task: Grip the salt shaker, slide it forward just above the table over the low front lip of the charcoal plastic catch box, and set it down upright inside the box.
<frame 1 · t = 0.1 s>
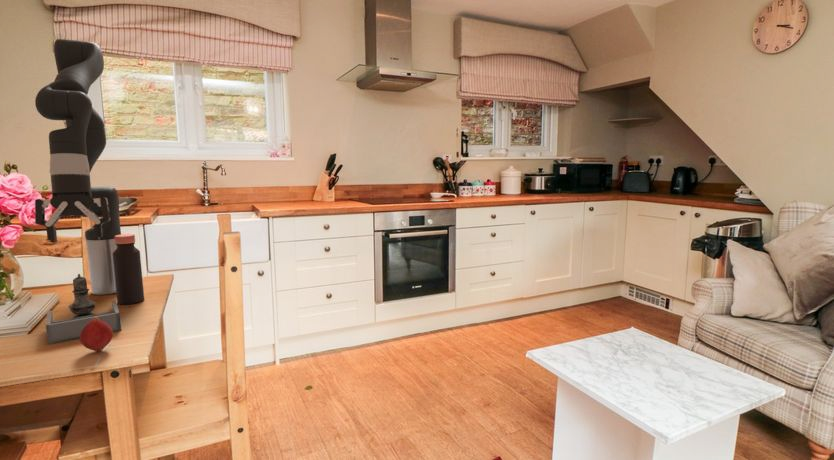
hand: (76, 241, 108), 22 cm above the table, tool pointing down, fingers open, 8 cm apart
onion: (98, 352, 98), on the table
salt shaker: (83, 317, 119), on the table
bottle: (131, 302, 132), on the table
catch box: (85, 329, 111), on the table
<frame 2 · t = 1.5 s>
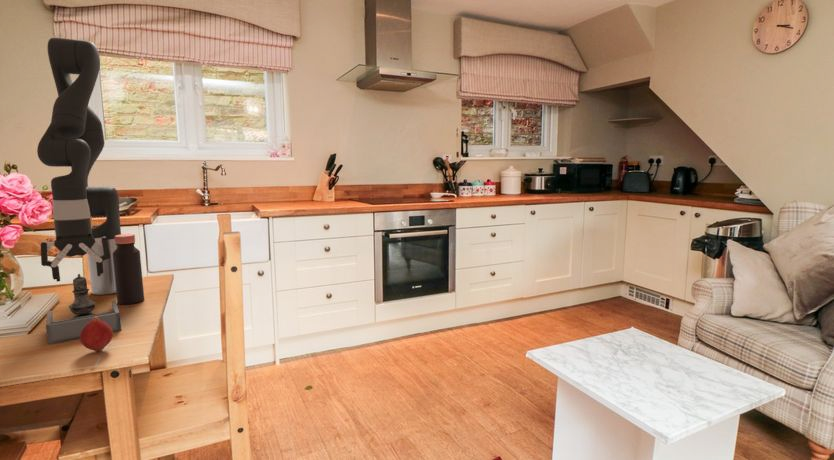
hand: (79, 278, 117), 11 cm above the table, tool pointing down, fingers open, 8 cm apart
nothing on the table moved.
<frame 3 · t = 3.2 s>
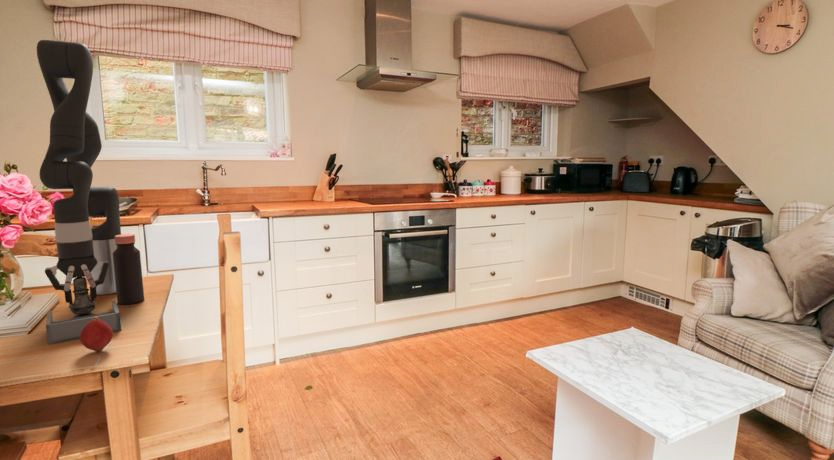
hand: (81, 301, 118), 4 cm above the table, tool pointing down, fingers closed on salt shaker, 4 cm apart
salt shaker: (84, 317, 119), on the table, touching gripper
everything else where it was.
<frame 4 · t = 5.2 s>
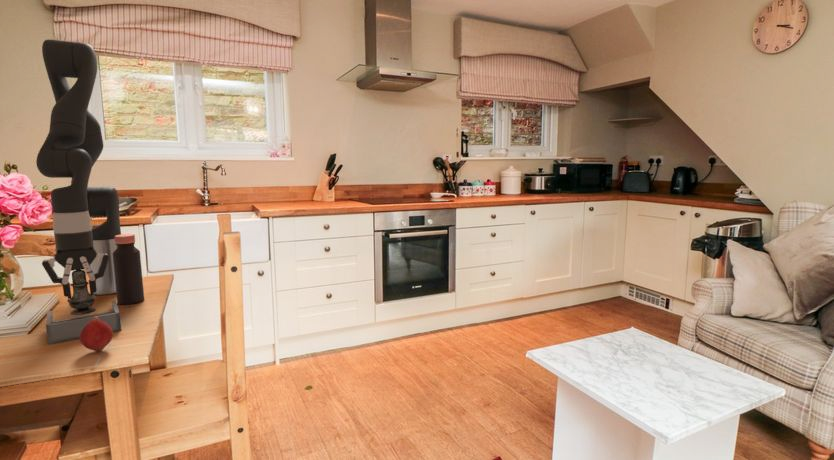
hand: (80, 295, 114), 7 cm above the table, tool pointing down, fingers closed on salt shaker, 4 cm apart
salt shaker: (83, 312, 114), point 3 cm above the table, touching gripper
everything else where it was.
when the fingers open (6 cm above the table, at t = 7.3 s): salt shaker drops 1 cm, resting on catch box.
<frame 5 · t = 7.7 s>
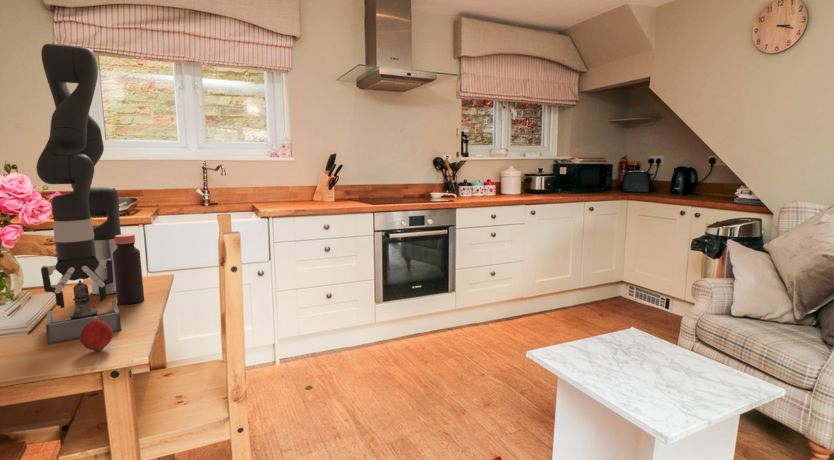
hand: (82, 303, 110), 7 cm above the table, tool pointing down, fingers open, 7 cm apart
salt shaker: (85, 327, 111), resting on catch box
everything else where it was.
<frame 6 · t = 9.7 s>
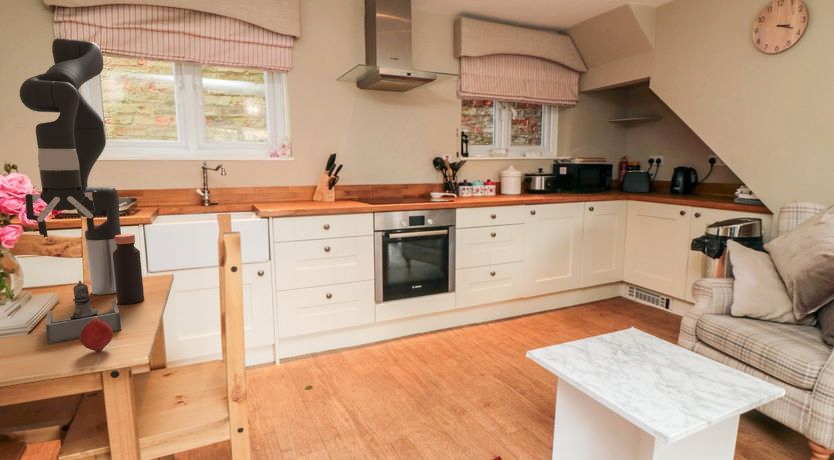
hand: (68, 234, 109), 24 cm above the table, tool pointing down, fingers open, 8 cm apart
nothing on the table moved.
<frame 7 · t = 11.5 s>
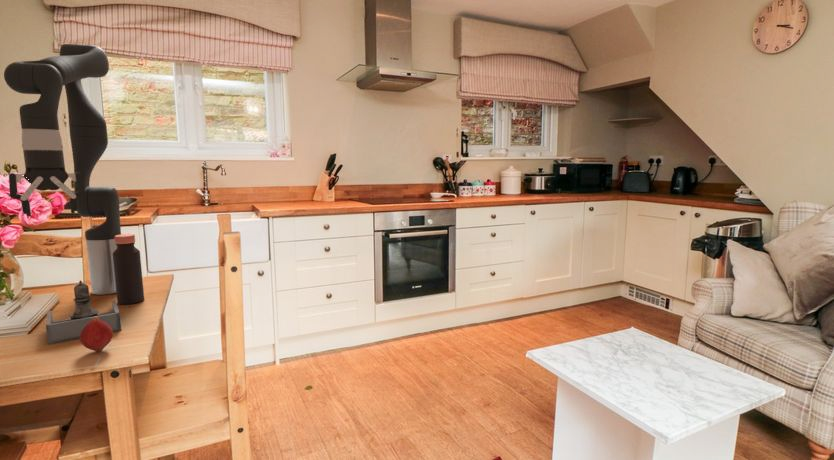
hand: (51, 214, 111), 28 cm above the table, tool pointing down, fingers open, 8 cm apart
nothing on the table moved.
at the end: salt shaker 0.2 cm off-centre on the catch box, point 0.3 cm above the catch box's base; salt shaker tilted 0°; the gripper is holding nothing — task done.
